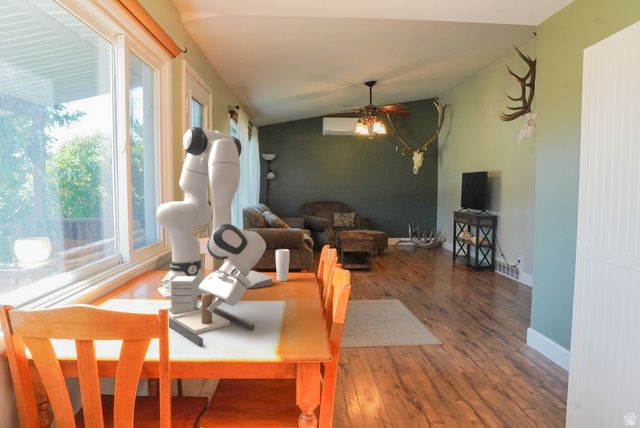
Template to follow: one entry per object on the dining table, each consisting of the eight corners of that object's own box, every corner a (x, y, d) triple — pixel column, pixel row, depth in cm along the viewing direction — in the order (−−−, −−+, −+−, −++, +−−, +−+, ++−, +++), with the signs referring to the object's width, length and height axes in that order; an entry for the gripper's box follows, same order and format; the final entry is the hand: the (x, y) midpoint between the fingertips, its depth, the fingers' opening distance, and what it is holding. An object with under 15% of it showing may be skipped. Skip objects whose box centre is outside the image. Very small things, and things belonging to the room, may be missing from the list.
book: (254, 277, 191) (254, 269, 190) (279, 286, 173) (279, 277, 173) (226, 281, 181) (226, 273, 181) (250, 291, 163) (250, 282, 163)
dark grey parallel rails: (162, 322, 122) (162, 316, 121) (212, 310, 134) (212, 305, 134) (199, 346, 103) (199, 339, 103) (254, 330, 116) (254, 324, 116)
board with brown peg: (160, 313, 130) (160, 284, 130) (193, 306, 139) (193, 279, 138) (194, 334, 112) (194, 300, 111) (230, 324, 120) (229, 293, 119)
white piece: (287, 282, 178) (287, 251, 177) (273, 281, 179) (273, 250, 178) (290, 279, 185) (291, 249, 184) (277, 278, 186) (278, 248, 185)
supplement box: (177, 310, 133) (176, 275, 133) (198, 310, 134) (198, 275, 133) (170, 317, 126) (170, 280, 125) (193, 317, 127) (192, 280, 126)
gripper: (210, 263, 130) (183, 296, 124) (242, 273, 115) (214, 311, 109) (222, 274, 133) (196, 307, 127) (254, 285, 119) (227, 322, 112)
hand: (204, 309), depth 118 cm, fingers closed on board with brown peg, 3 cm apart
